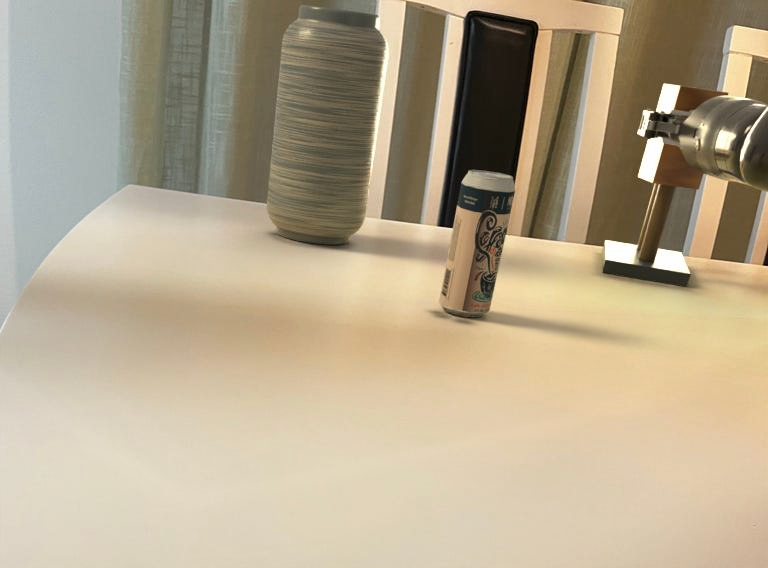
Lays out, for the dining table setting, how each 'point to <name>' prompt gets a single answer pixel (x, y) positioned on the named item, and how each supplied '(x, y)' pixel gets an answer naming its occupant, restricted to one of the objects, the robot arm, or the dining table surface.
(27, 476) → the dining table surface
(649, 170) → the sleeve
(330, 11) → the vase
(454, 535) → the dining table surface
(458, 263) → the drink can
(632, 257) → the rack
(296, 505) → the dining table surface
